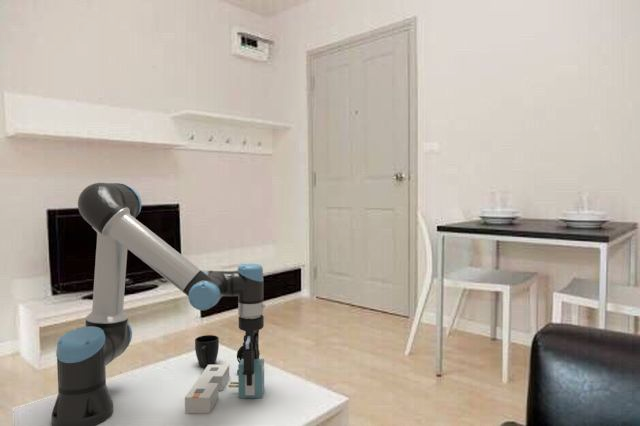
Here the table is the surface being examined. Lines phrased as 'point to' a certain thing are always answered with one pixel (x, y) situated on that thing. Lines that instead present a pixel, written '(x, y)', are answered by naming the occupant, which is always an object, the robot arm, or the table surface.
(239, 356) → the webcam
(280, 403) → the table surface
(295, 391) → the table surface
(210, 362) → the mug
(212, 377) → the power strip
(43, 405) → the table surface
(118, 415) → the table surface
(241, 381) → the charger
